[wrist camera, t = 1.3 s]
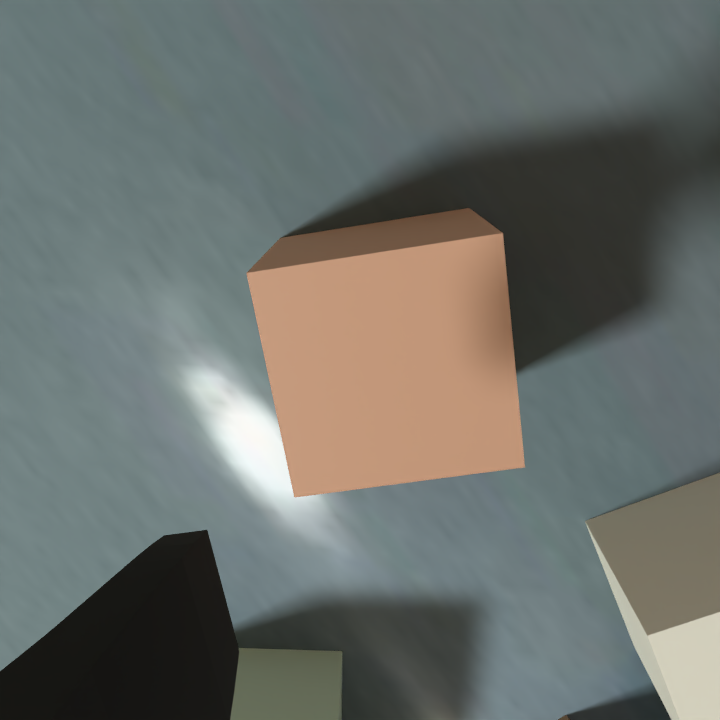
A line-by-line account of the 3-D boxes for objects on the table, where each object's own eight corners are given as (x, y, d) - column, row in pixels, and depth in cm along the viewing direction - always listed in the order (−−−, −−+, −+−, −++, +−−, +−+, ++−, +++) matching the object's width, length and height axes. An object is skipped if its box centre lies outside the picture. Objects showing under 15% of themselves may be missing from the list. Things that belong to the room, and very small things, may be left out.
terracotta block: (468, 207, 18) (502, 233, 13) (487, 385, 19) (524, 467, 14) (281, 237, 18) (246, 273, 13) (314, 409, 19) (294, 497, 15)
